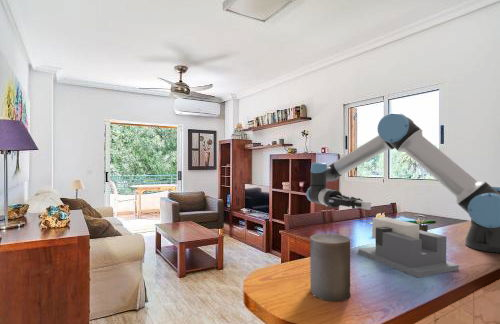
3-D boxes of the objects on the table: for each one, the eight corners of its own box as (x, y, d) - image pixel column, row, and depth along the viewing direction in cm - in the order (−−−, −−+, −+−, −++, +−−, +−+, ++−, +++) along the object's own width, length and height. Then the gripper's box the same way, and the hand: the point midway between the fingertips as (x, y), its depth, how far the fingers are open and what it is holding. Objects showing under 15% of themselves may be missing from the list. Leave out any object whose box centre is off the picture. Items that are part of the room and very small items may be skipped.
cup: (426, 248, 114) (426, 227, 114) (404, 245, 119) (404, 224, 119) (429, 244, 120) (429, 224, 120) (408, 241, 125) (408, 221, 124)
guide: (358, 253, 108) (358, 223, 108) (394, 248, 114) (394, 220, 114) (417, 277, 86) (417, 240, 86) (458, 269, 92) (458, 235, 92)
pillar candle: (357, 292, 76) (356, 232, 76) (339, 306, 69) (339, 239, 69) (321, 282, 82) (321, 226, 82) (302, 293, 75) (302, 232, 75)
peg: (372, 237, 109) (372, 218, 109) (385, 236, 111) (385, 217, 111) (405, 248, 96) (405, 225, 96) (419, 246, 98) (419, 224, 98)
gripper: (342, 205, 139) (382, 215, 117) (318, 207, 134) (355, 217, 112) (342, 189, 139) (382, 195, 117) (318, 190, 134) (355, 196, 112)
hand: (369, 206), depth 115 cm, fingers closed
